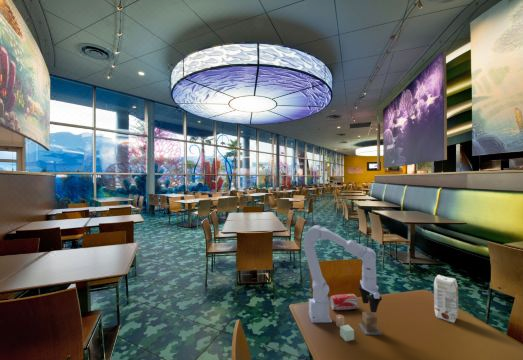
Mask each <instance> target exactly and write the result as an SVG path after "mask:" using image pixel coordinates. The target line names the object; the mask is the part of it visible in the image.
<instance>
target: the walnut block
mask: <svg viewBox="0 0 523 360" xmlns="http://www.w3.org/2000/svg"><path fill="white" fill-rule="evenodd" d="M361 313H362V314H361V317H362V318H361V319H362V322H361V324H362V325H363V327H364V328H365V330H366V331H373V332H377V328H378V317H377V316H376V315H375V314H374V312H371V311H361Z"/></svg>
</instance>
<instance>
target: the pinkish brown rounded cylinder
mask: <svg viewBox="0 0 523 360" xmlns="http://www.w3.org/2000/svg"><path fill="white" fill-rule="evenodd" d="M343 325H345V316H344V315H343V314H340V313H339V314H336V315H335V326H336V327H337V328H339V329H340V326H343Z"/></svg>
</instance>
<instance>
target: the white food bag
mask: <svg viewBox="0 0 523 360" xmlns="http://www.w3.org/2000/svg"><path fill="white" fill-rule="evenodd" d="M433 297H434V298H433V301H434V302H433V305H434V306H433V308H434V309H433V310H434V315H435V317H436V318H438V319H441V320H444V321H446V322H450V323H452V324H455V322H456V320H457V318H458V316H459V285H458V282H457V279H456V278H454V277H449V276H448V277H447V276H444V275H441V274H437V275H436V276H435V277H434V282H433Z"/></svg>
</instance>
